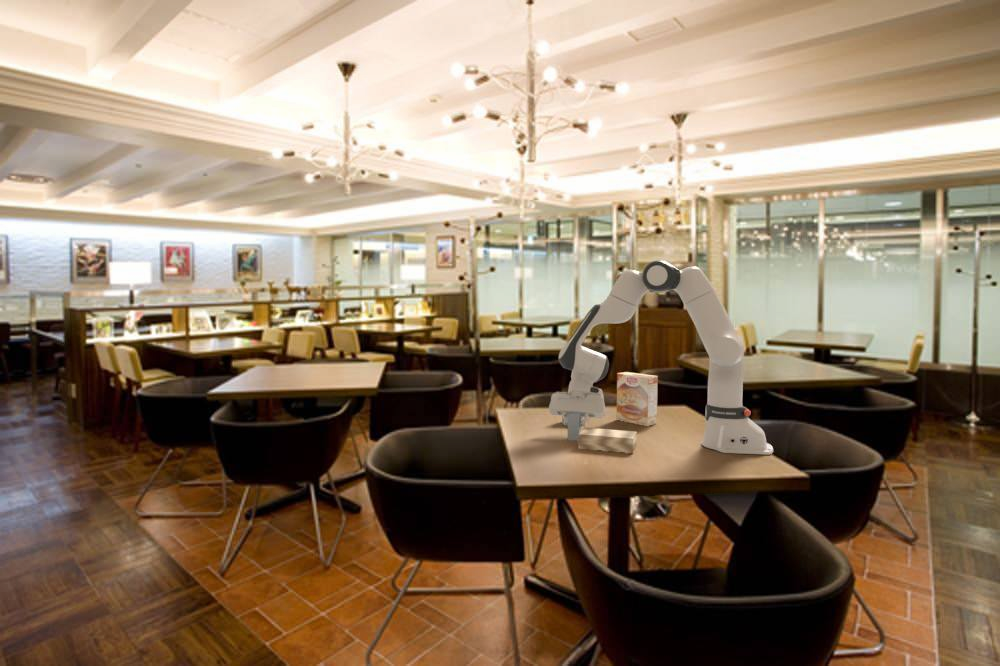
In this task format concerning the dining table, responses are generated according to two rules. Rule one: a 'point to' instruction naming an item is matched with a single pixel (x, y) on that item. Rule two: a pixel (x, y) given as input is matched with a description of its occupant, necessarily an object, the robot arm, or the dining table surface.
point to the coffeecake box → (637, 398)
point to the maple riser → (607, 440)
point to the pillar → (574, 426)
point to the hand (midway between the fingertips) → (573, 425)
